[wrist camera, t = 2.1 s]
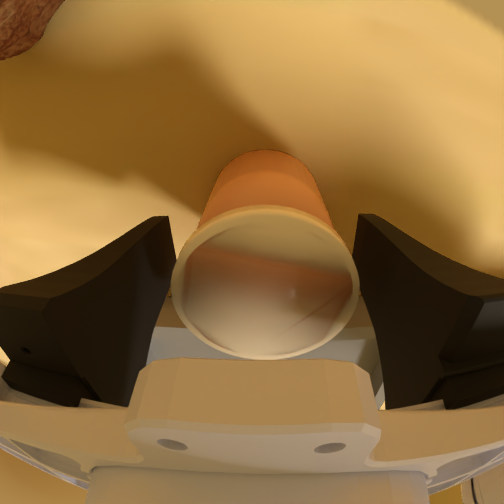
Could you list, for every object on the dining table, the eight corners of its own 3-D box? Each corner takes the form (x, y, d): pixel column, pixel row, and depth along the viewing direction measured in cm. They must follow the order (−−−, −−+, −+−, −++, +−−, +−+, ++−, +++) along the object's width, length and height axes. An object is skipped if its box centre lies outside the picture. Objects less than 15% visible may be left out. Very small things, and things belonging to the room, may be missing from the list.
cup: (325, 145, 13) (374, 215, 7) (318, 248, 16) (342, 357, 10) (204, 147, 13) (153, 217, 7) (214, 249, 16) (187, 357, 10)
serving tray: (411, 294, 17) (424, 322, 15) (368, 395, 24) (372, 419, 22) (122, 294, 18) (108, 322, 16) (164, 395, 25) (159, 418, 23)
